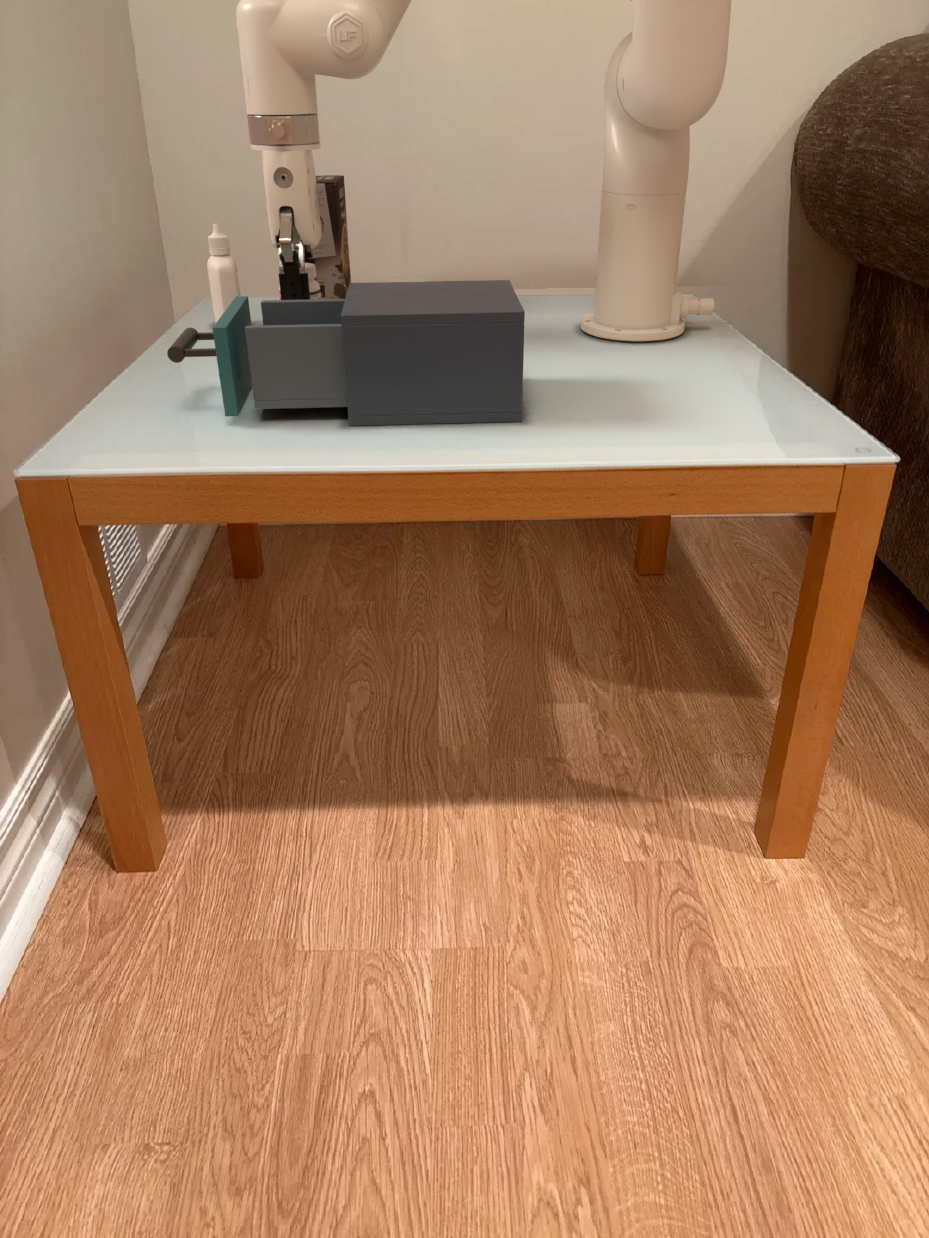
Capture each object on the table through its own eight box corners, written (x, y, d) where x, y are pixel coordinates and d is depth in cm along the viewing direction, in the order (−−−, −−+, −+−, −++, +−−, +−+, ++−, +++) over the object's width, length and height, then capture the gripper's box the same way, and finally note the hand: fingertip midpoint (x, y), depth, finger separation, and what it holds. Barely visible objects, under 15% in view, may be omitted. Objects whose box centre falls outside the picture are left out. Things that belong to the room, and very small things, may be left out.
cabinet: (348, 426, 83) (340, 315, 78) (356, 381, 95) (349, 282, 90) (521, 421, 84) (524, 311, 79) (507, 378, 96) (509, 280, 91)
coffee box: (346, 318, 119) (336, 181, 111) (296, 318, 119) (283, 181, 111) (354, 303, 127) (345, 174, 119) (307, 303, 127) (296, 174, 119)
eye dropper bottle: (253, 321, 118) (241, 220, 112) (239, 332, 113) (226, 227, 107) (220, 320, 118) (206, 220, 112) (205, 331, 114) (190, 227, 108)
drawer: (169, 418, 83) (153, 328, 79) (197, 377, 93) (184, 297, 89) (386, 412, 83) (382, 324, 79) (389, 373, 94) (385, 293, 90)
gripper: (312, 139, 92) (326, 318, 101) (325, 129, 107) (337, 286, 116) (236, 139, 91) (258, 320, 101) (260, 129, 106) (277, 287, 115)
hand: (300, 301), depth 108 cm, fingers open, 7 cm apart
